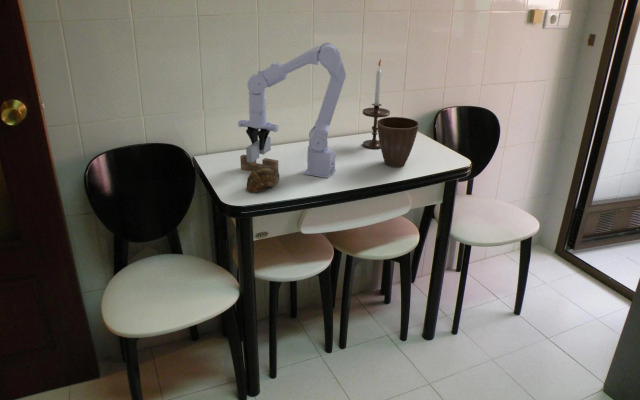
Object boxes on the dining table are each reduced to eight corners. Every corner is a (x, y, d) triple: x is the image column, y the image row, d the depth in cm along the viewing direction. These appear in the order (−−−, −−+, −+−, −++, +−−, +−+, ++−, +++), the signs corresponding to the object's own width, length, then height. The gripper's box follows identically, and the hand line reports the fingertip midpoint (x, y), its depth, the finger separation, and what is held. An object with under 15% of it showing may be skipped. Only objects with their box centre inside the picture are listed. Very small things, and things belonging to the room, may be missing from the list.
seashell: (276, 181, 175) (275, 159, 171) (282, 192, 166) (282, 169, 163) (243, 184, 171) (242, 162, 168) (248, 195, 163) (247, 172, 160)
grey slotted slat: (265, 149, 186) (265, 136, 184) (270, 150, 185) (270, 136, 183) (246, 161, 174) (246, 147, 172) (251, 162, 173) (251, 148, 171)
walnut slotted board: (278, 173, 181) (278, 160, 179) (276, 175, 179) (275, 162, 177) (243, 167, 185) (243, 154, 183) (240, 169, 184) (240, 156, 181)
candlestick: (388, 150, 206) (395, 61, 191) (361, 149, 206) (366, 60, 191) (385, 141, 215) (392, 56, 201) (359, 140, 215) (364, 55, 201)
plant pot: (382, 172, 184) (385, 129, 177) (369, 158, 197) (371, 117, 190) (420, 169, 187) (425, 127, 180) (405, 155, 200) (409, 115, 193)
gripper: (282, 110, 174) (282, 148, 179) (244, 105, 178) (246, 142, 184) (272, 115, 168) (273, 154, 174) (234, 110, 173) (236, 148, 178)
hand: (258, 148), depth 178 cm, fingers closed on grey slotted slat, 2 cm apart
